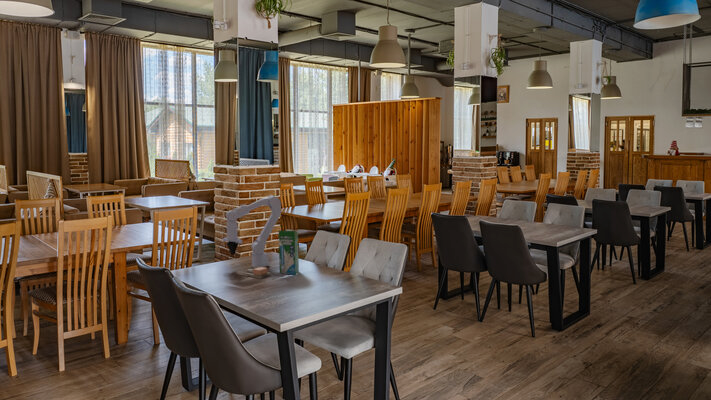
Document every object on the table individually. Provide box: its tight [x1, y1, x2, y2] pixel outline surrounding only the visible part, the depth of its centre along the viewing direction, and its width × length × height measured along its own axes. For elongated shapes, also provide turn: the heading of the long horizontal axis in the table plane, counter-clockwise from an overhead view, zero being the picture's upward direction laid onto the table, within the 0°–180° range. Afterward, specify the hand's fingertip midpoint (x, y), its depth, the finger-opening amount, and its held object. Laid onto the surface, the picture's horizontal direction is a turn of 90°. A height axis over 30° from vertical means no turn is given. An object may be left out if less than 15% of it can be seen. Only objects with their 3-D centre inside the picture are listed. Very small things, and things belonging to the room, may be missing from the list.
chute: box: [236, 268, 272, 279], centre depth 296 cm, size 11×18×2 cm, turn 53°
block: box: [252, 267, 269, 275], centre depth 293 cm, size 6×5×4 cm
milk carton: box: [278, 228, 300, 276], centre depth 302 cm, size 9×9×25 cm
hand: (232, 254), depth 310 cm, fingers closed
